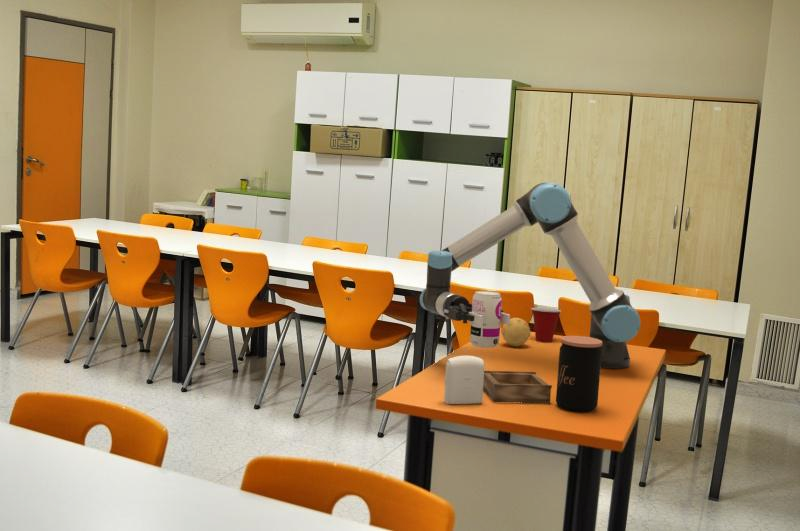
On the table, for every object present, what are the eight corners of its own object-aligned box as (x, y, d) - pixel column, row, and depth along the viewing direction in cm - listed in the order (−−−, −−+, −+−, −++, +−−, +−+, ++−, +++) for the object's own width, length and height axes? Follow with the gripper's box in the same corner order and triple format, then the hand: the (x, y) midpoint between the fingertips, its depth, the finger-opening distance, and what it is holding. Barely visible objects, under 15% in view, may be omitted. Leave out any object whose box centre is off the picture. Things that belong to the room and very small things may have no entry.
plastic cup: (557, 339, 319) (560, 307, 318) (560, 344, 308) (562, 311, 307) (528, 336, 320) (530, 304, 319) (529, 342, 309) (532, 309, 308)
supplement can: (501, 344, 248) (505, 292, 246) (494, 349, 240) (498, 296, 238) (473, 340, 250) (477, 289, 249) (466, 345, 242) (470, 293, 241)
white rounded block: (446, 405, 220) (449, 357, 219) (441, 400, 224) (444, 354, 223) (484, 404, 223) (487, 357, 222) (478, 400, 227) (482, 354, 226)
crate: (534, 388, 242) (535, 371, 242) (550, 403, 227) (552, 385, 227) (480, 387, 240) (481, 370, 240) (493, 402, 225) (494, 384, 225)
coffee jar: (550, 401, 230) (555, 334, 228) (589, 402, 231) (595, 336, 229) (561, 412, 219) (567, 343, 217) (602, 414, 220) (608, 344, 218)
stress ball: (506, 345, 307) (491, 328, 302) (525, 324, 308) (510, 308, 303) (521, 355, 298) (505, 338, 293) (540, 334, 299) (525, 317, 294)
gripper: (481, 317, 265) (525, 332, 245) (422, 320, 255) (462, 335, 236) (483, 293, 264) (527, 306, 244) (423, 295, 255) (464, 307, 235)
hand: (495, 320), depth 240 cm, fingers closed on supplement can, 8 cm apart
